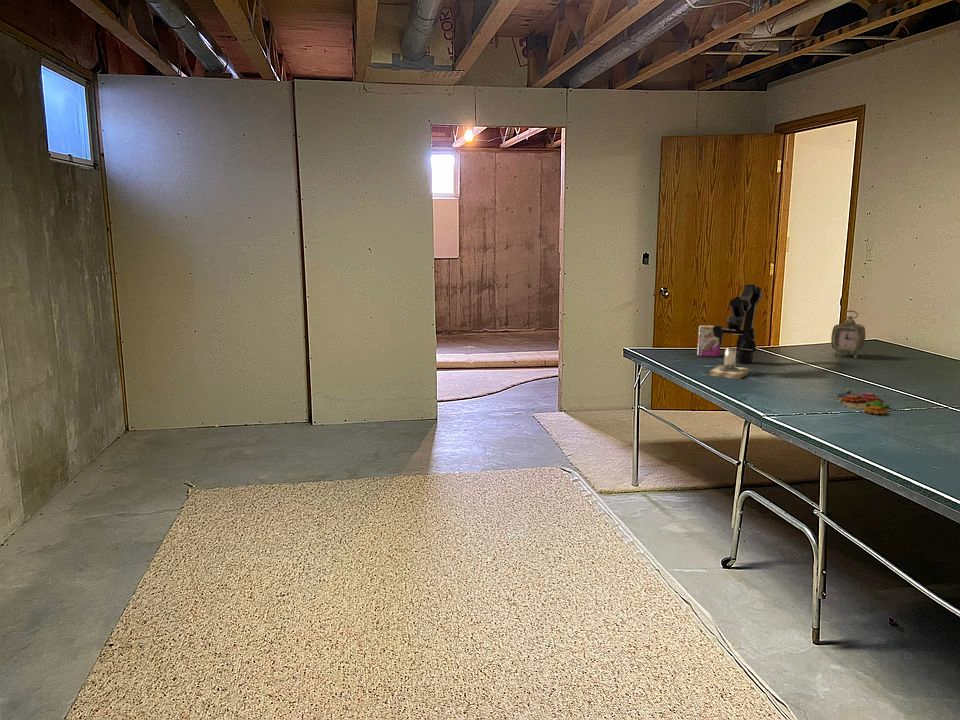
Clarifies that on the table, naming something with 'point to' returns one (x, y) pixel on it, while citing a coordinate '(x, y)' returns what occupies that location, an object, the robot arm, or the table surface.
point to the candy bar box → (707, 342)
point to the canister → (729, 358)
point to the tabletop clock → (848, 336)
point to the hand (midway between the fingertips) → (730, 346)
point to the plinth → (729, 372)
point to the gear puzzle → (863, 402)
